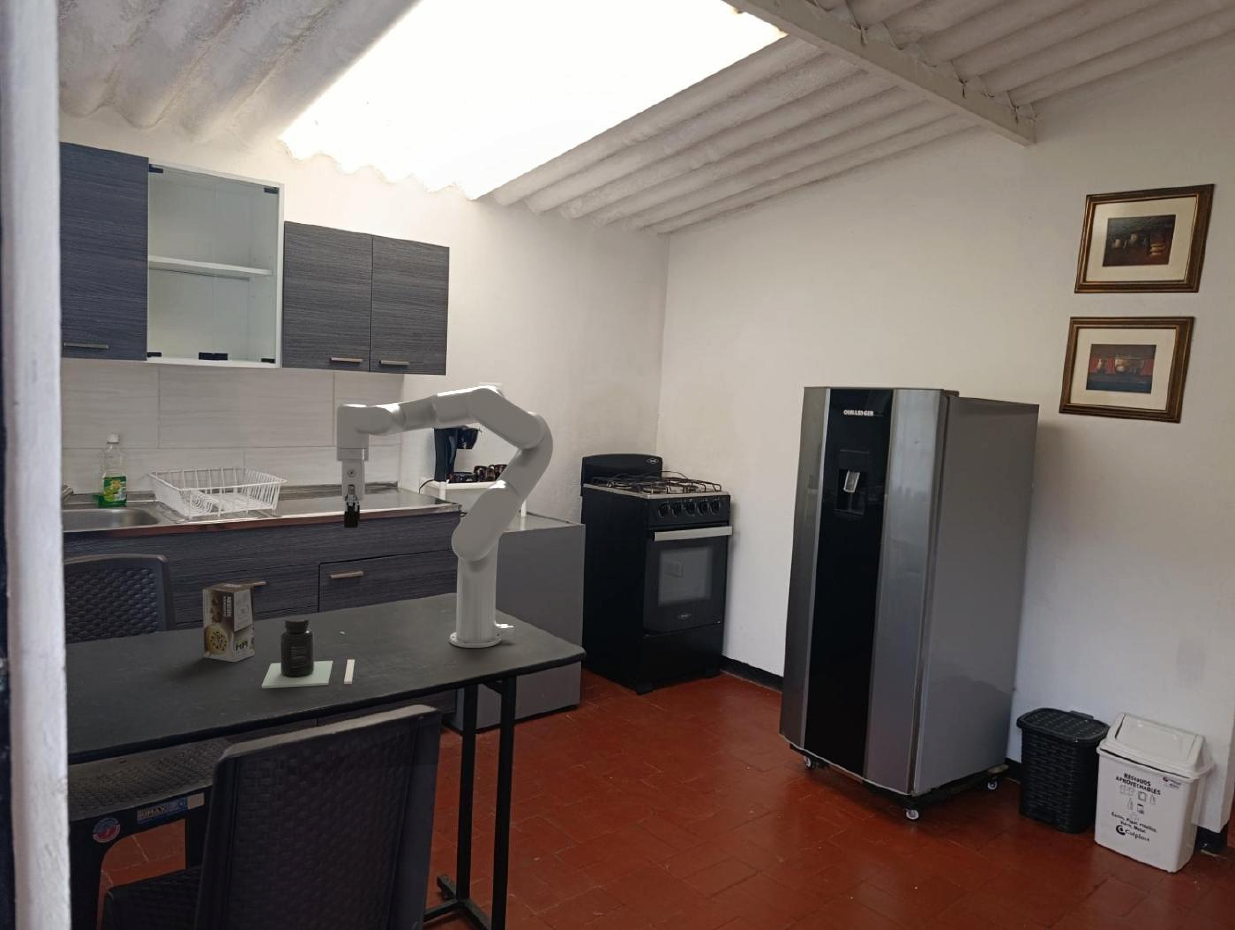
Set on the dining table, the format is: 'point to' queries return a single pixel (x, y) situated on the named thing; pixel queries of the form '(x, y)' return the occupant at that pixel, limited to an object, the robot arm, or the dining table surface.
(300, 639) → the supplement bottle
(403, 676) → the dining table surface
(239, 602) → the coffee box
